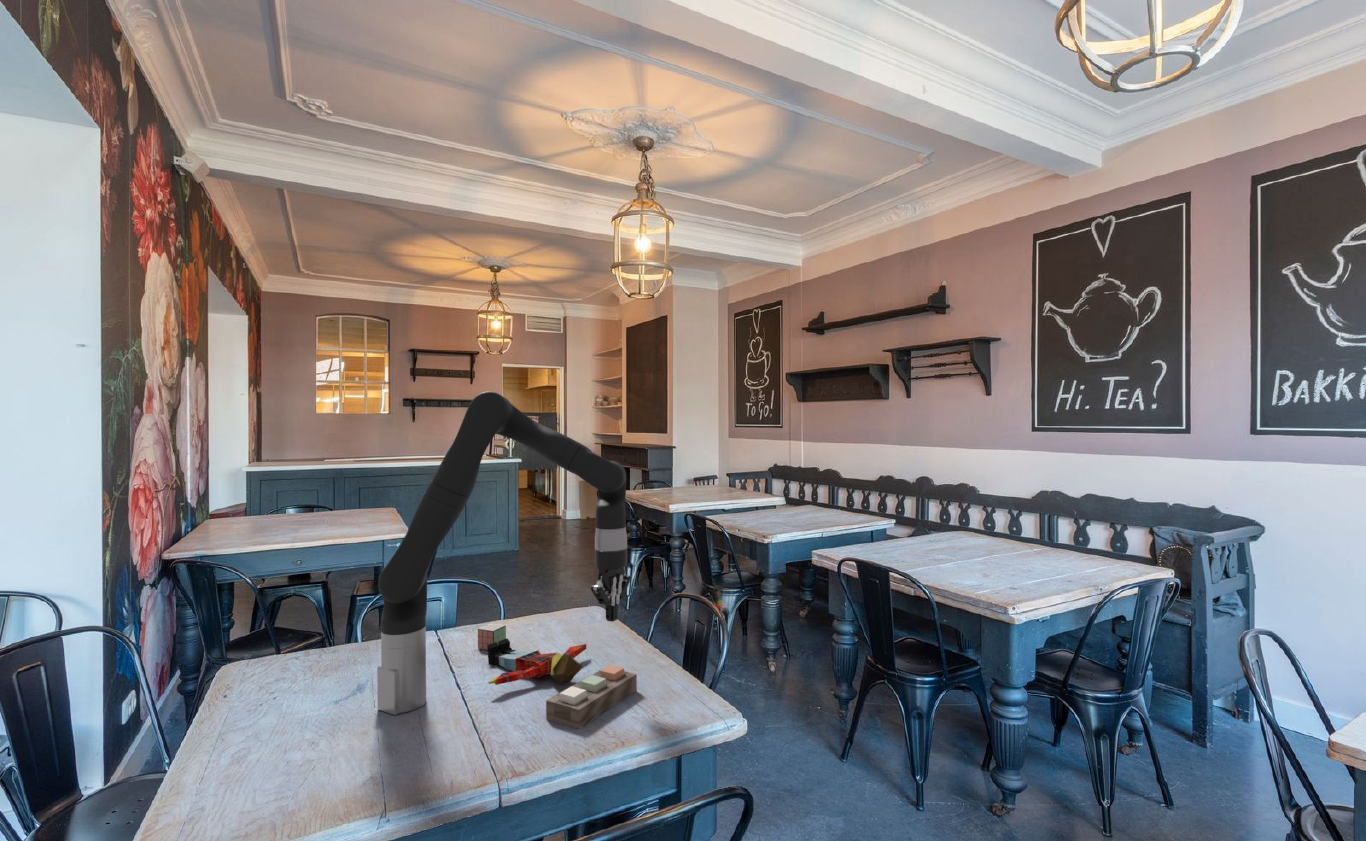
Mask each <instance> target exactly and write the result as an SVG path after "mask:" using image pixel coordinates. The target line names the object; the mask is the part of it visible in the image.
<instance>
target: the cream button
mask: <svg viewBox="0 0 1366 841" xmlns="http://www.w3.org/2000/svg"><path fill="white" fill-rule="evenodd" d="M571 686H572V687H571ZM571 686H569V687H570V688H569V687H568V689H567V688H565V689H564V690H565V691H564V690H562V691H563V692H562V691H561V693H560V692H559V693H560V701H561V702H565V703H569V704H572V705H575V704H577V703H579V702H580V701H582V700H584V699H585V698H586V690H584V689H580V688H576V687H573V685H571Z"/></svg>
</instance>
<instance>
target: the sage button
mask: <svg viewBox="0 0 1366 841" xmlns="http://www.w3.org/2000/svg"><path fill="white" fill-rule="evenodd" d="M589 676H590V677H589ZM589 676H587V677H588V678H587V677H586V679H585V678H584V679H582V680H580V681H581V689H584V690H587V691H591V692H597V691H599V690H600V689H602V688H604V687H605V686H606V678H602V677H598V676H594V675H593V674H591V675H589Z"/></svg>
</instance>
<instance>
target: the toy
mask: <svg viewBox="0 0 1366 841" xmlns="http://www.w3.org/2000/svg"><path fill="white" fill-rule="evenodd" d="M498 643H499V645H498ZM498 643H497V642H495V643H492V644H489V645H487V649H488V650H487V661H488V662H487V663H488V665H491V666H493V665H498V666H501V667H503V668H504V669H505V670H508V672H507V671H506V672H502V673H501V674H500V675H498V676H495V677H494V678H493V679H491V680H490V681H488V684H489V685H491V684H494V685H495V686H498V685H502V684H508V683H512V682H516V681H519V680H522V679H527V678H529V679H530V678H534V677H535V678H540V677H543V676H546V675H549V674H550V676H551V677H552V679H554V680H555V681H556V682H557V683H558V684H561V685H569V683H571V682H572V680H574V677H575V676H576V675H577V674H578V673H579V672H580V671H581V669H582V666H583V665H581V663H579V662H578V661H577V660H576V659H575V658H576V657H577V656H579V655H580V654H582V653H583V652H584V651H585V650H586V649H587V643H583V644H579V645H573V646H570V647H568V648H567V650H566V651H565V652H564V653H559V652H551V653H541V652H540V650H538V649H537V650H534V651H533V650H530V649H523V650H522V649H521V650H520V649H518V650H517V649H512V647H511V641H510V640H509V638H506V639H504V640H501V641H498Z"/></svg>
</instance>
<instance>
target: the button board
mask: <svg viewBox="0 0 1366 841" xmlns="http://www.w3.org/2000/svg"><path fill="white" fill-rule="evenodd" d="M606 667H607V666H605V667H603V668H602V669H604V668H606ZM592 675H594V676H598V677H600V670H598V671H596V672H594V673H593V674H592ZM590 676H591V675H589V676H587V677H586V678H588V677H590ZM586 678H584V679H586ZM637 679H638V678H637V673H633V672H629V671H625V670H624V676H622V677H620V678H619V679H617V680H615V681H612V680H608V679H606V686H605V687H604V688H602V689H600V690H599V691H597V692H591V691H587V690H586V698H585V699H584V700H582V701H580V702H579V703H577V704H575V705H572V704H569V703H565V702H561V701H560V693H561V692H563V691H565V690H566V689H568V688H570V687H572V686H573V687H576V688H580V689H581V681H582V680H580V681H579V682H576V683H575V684H573V685H571V686H569V687H568V688H566V689H564V690H562V691H561V692H559V693H557V694H555V695H553V696H552V697H550V698H548V699H546V700H545V711H546V713H545V715H546V716H545V720H547V721H551V722H555V723H558V724H562V725H565V726H566V727H567V726H568V727H571V728H573V729H574V728H575V729H577V730H580V729H582V728H583V727H585V726H586V725H588V724H590V722H592V721H593V720H595V719H597V718H598V717H600V716H602V715H603V714H604V713H606V712H608V711H609V710H610V709H611V708H614V706H617V705H618V704H619V703H622V701H624V700H625V699H627V698H629V697H631V696H632V695H634V694H635V693H636V692H637V691H638V683H637V682H638V681H637Z"/></svg>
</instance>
